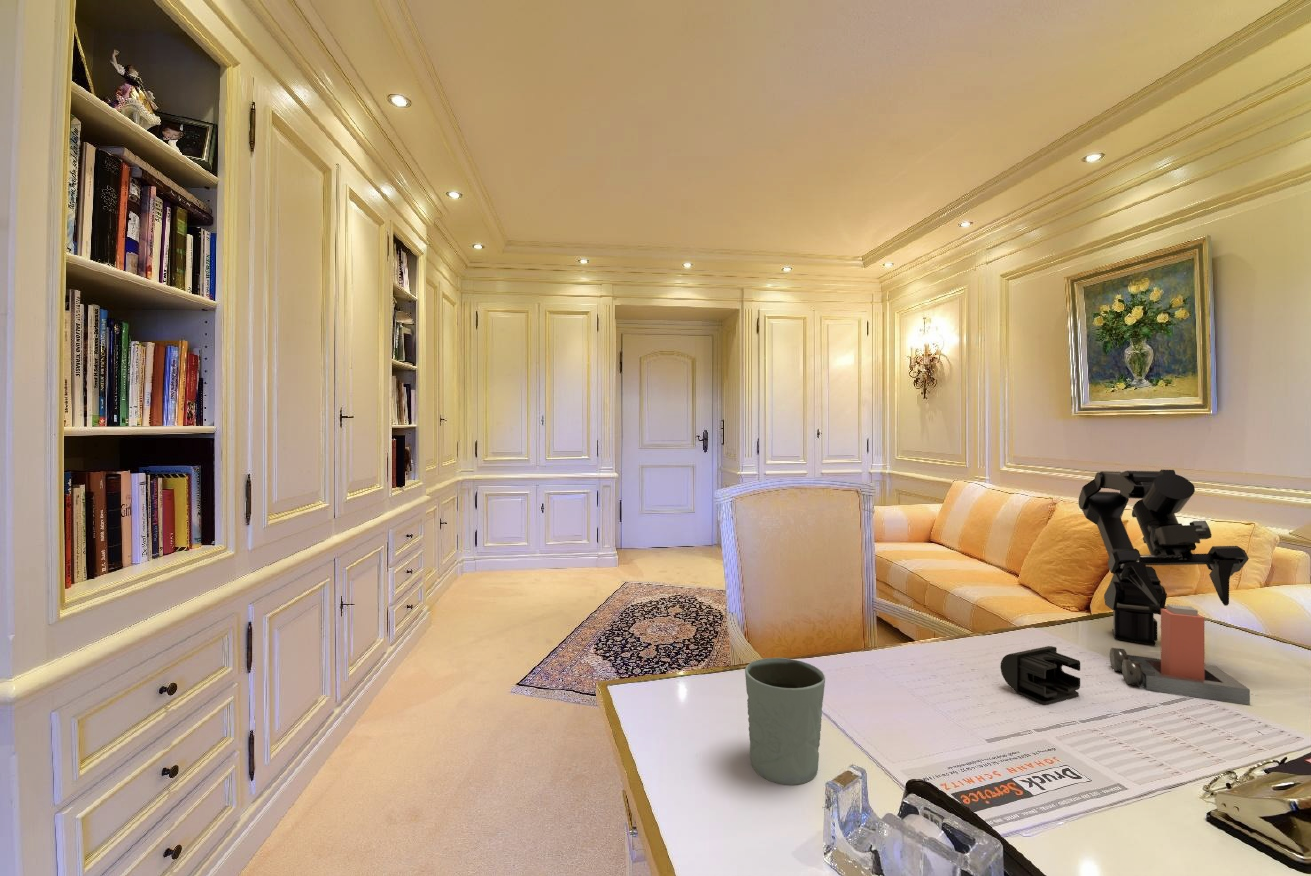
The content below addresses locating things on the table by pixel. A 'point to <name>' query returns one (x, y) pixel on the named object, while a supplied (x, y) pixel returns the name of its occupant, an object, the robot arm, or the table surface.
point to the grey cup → (784, 718)
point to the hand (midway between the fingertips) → (1192, 604)
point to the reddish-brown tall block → (1182, 642)
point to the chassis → (1178, 679)
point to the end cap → (1041, 675)
